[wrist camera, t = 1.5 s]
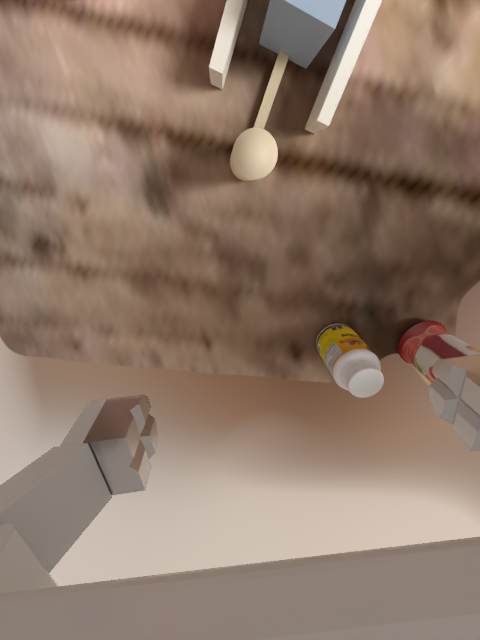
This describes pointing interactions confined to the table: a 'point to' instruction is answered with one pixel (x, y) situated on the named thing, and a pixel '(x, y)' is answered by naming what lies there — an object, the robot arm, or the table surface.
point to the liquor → (431, 346)
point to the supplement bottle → (350, 360)
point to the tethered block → (290, 44)
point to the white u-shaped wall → (337, 71)
